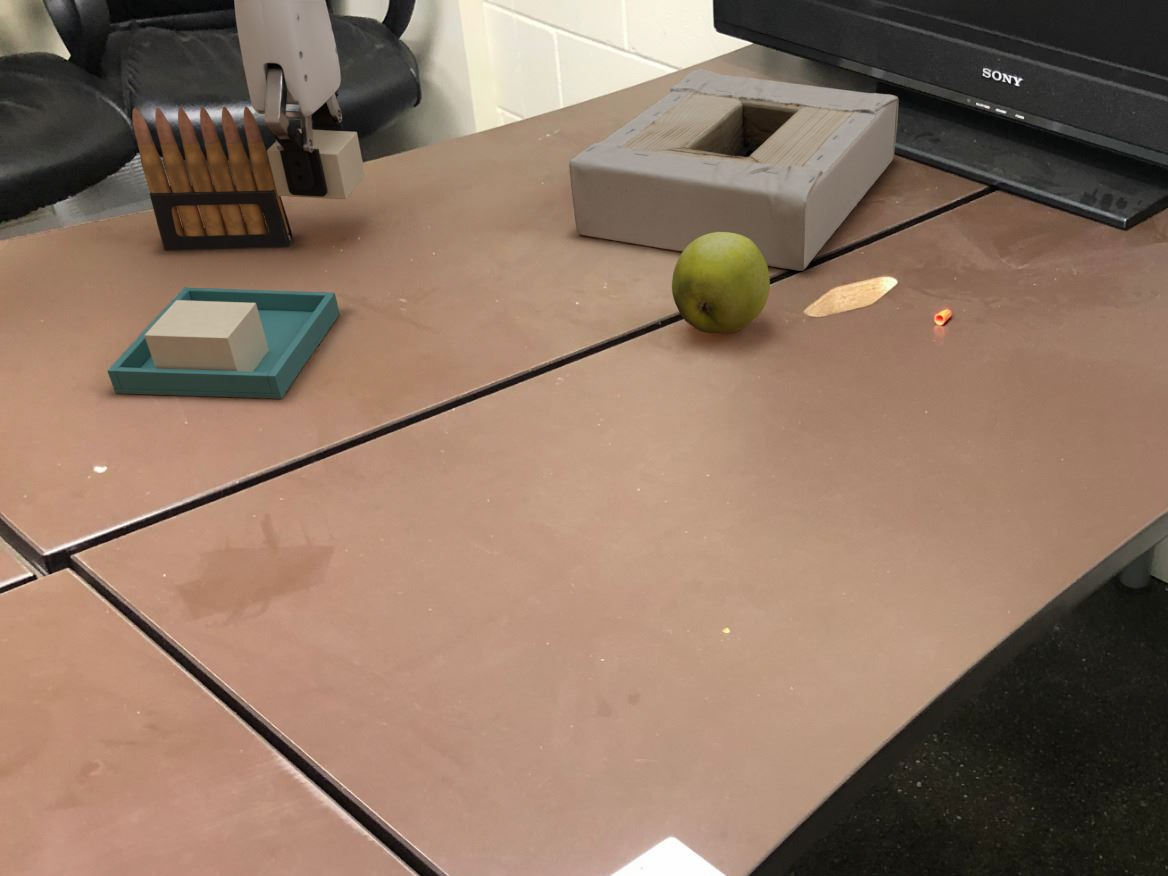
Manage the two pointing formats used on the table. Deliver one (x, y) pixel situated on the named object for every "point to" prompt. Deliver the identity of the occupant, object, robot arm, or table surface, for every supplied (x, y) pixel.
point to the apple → (720, 282)
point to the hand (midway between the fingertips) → (320, 179)
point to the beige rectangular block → (327, 164)
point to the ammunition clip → (212, 186)
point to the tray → (291, 341)
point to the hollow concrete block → (736, 166)
